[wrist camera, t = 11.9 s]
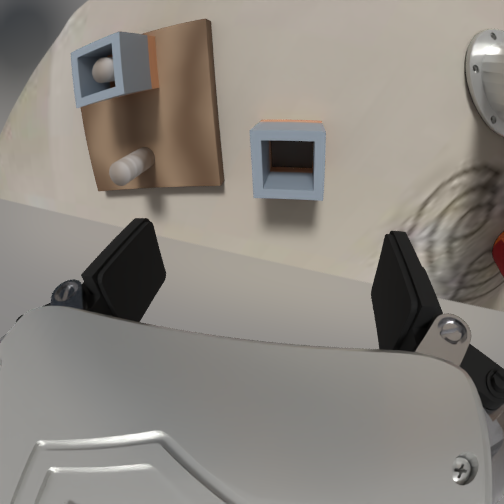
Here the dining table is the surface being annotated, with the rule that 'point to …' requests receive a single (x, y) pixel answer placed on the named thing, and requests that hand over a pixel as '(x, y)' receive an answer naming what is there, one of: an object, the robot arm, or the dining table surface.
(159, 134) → the pin board
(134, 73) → the sleeve
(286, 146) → the dining table surface
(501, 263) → the paper cup
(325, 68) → the dining table surface
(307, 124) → the sleeve
